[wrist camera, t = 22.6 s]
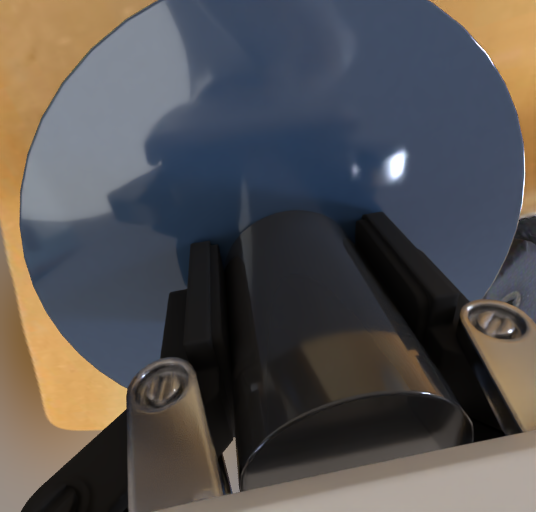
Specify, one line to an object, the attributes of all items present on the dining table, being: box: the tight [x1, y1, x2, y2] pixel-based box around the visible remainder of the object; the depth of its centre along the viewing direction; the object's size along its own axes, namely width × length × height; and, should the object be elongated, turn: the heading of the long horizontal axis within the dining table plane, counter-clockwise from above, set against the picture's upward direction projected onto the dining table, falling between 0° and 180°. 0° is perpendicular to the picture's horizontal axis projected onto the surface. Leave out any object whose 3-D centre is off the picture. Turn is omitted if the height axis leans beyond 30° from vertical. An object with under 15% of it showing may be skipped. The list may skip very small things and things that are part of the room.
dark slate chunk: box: [483, 216, 536, 324], centre depth 36 cm, size 15×22×5 cm
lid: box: [20, 0, 525, 492], centre depth 9 cm, size 15×15×7 cm
